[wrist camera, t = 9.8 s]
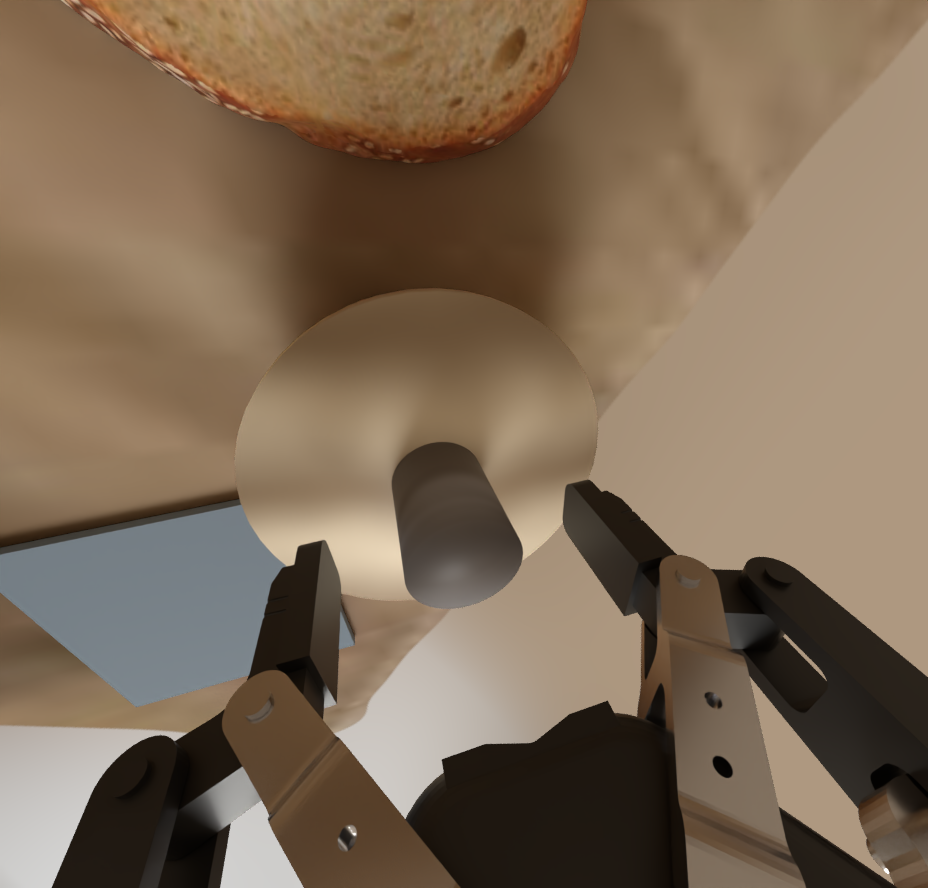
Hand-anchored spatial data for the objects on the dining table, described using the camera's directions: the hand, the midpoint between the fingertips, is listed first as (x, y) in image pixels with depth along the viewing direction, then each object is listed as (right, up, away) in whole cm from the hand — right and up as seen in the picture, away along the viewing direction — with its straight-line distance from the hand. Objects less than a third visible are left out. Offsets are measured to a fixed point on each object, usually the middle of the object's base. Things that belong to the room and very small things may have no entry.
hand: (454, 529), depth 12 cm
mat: (-16, -8, +11) cm, 21 cm away
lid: (-1, +2, +3) cm, 4 cm away
